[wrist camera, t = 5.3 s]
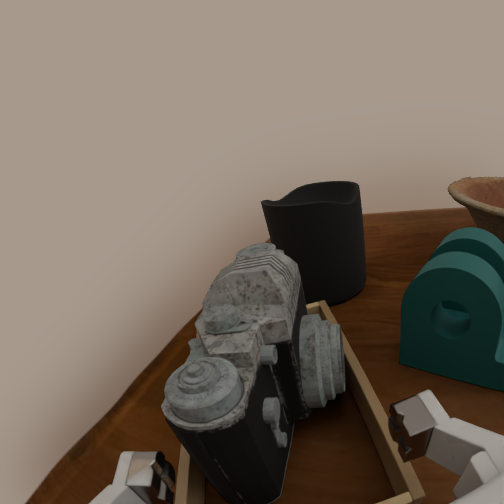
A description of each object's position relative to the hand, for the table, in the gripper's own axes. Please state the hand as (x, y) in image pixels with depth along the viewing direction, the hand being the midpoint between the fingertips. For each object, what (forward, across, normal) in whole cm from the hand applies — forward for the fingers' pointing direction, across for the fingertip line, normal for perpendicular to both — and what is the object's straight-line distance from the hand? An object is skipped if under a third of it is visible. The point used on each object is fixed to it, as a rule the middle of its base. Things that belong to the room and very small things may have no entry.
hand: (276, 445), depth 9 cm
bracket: (+4, -17, +7) cm, 19 cm away
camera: (+7, -1, +7) cm, 10 cm away
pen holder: (+23, -7, +7) cm, 25 cm away
